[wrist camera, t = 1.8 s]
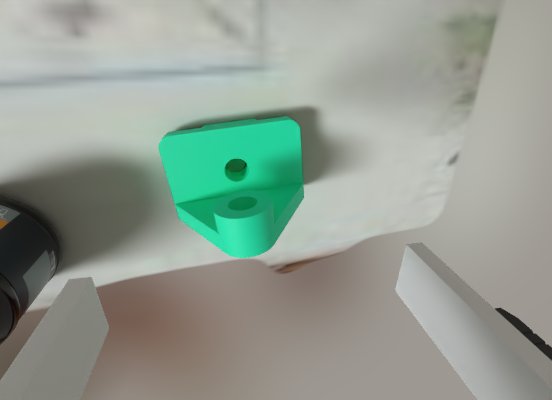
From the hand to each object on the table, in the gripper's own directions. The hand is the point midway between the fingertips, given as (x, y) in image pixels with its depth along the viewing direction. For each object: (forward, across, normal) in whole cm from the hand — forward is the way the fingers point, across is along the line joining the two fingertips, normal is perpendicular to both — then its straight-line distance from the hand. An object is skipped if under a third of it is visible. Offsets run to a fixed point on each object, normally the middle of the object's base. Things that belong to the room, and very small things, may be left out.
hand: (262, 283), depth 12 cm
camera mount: (+18, 0, 0) cm, 18 cm away
